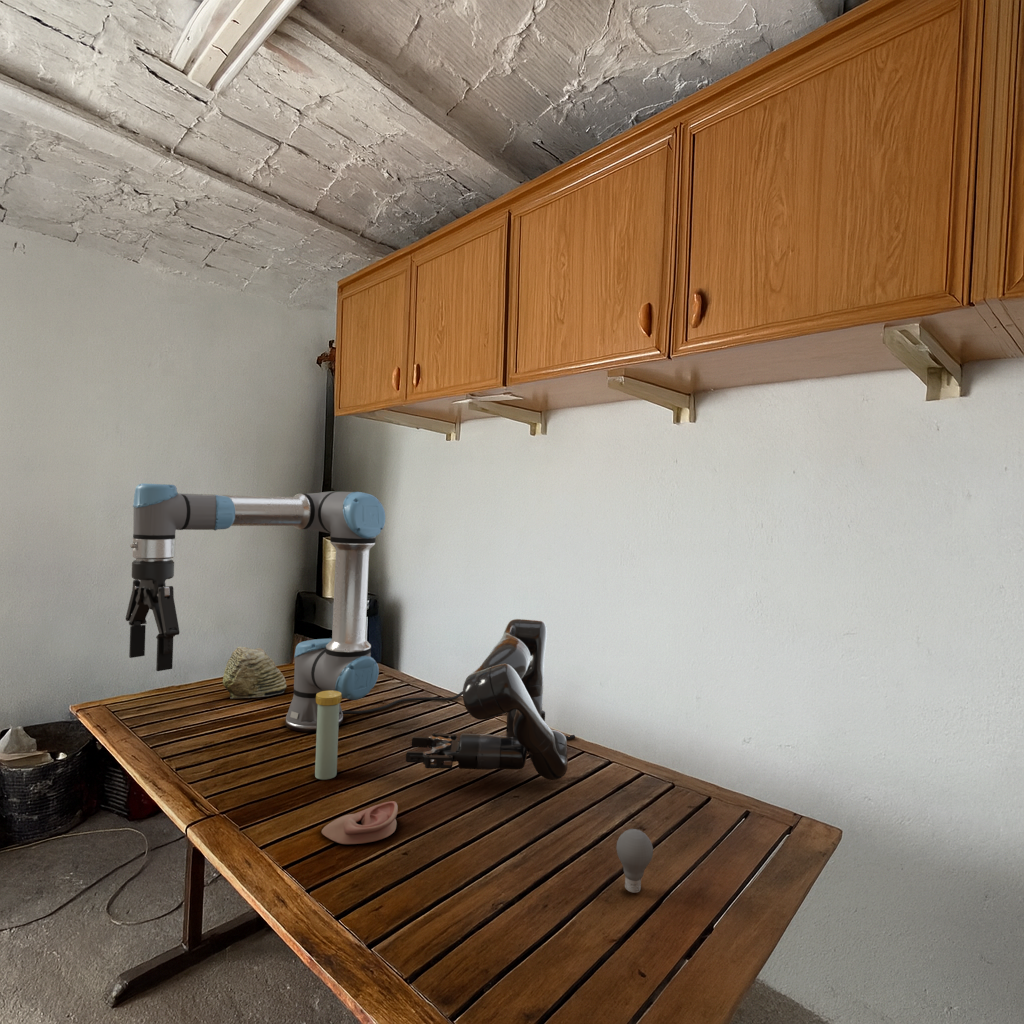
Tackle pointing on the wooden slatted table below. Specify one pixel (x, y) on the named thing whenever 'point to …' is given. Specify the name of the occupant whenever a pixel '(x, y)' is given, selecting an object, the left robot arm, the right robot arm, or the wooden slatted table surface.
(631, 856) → the light bulb
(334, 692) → the lid
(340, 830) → the anatomical model
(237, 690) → the fossil
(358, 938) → the wooden slatted table surface
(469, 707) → the right robot arm
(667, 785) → the wooden slatted table surface
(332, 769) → the jar
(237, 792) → the wooden slatted table surface
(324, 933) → the wooden slatted table surface
